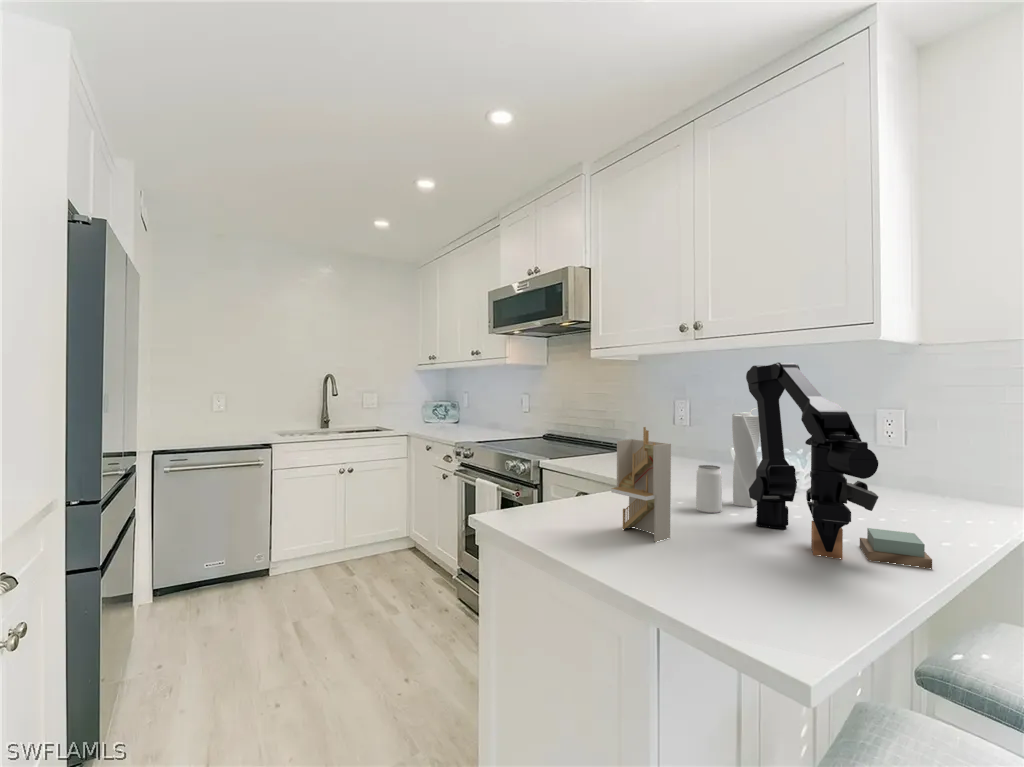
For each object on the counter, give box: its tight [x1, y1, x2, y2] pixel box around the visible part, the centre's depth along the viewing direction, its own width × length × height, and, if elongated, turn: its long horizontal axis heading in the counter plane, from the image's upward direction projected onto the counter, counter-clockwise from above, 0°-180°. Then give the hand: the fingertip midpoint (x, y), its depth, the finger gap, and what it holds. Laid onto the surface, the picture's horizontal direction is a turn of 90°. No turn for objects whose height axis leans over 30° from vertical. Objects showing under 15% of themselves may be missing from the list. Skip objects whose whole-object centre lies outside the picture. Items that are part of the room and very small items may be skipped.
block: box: [810, 520, 844, 560], centre depth 105 cm, size 5×5×6 cm
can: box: [695, 464, 723, 514], centre depth 139 cm, size 6×6×12 cm
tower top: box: [866, 527, 926, 557], centre depth 103 cm, size 8×8×2 cm
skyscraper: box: [731, 406, 760, 509], centre depth 146 cm, size 8×8×28 cm
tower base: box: [859, 537, 933, 570], centre depth 103 cm, size 10×10×2 cm
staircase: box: [610, 426, 672, 543], centre depth 117 cm, size 8×12×26 cm
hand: (826, 545), depth 105 cm, fingers open, 9 cm apart
